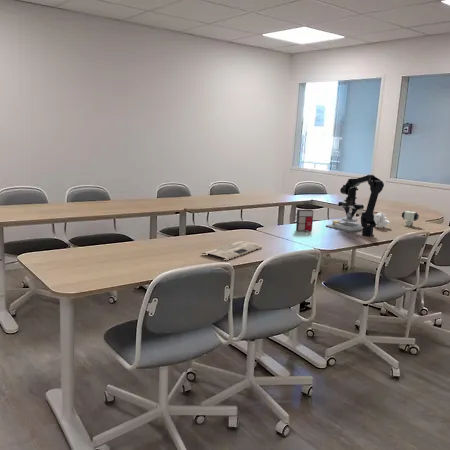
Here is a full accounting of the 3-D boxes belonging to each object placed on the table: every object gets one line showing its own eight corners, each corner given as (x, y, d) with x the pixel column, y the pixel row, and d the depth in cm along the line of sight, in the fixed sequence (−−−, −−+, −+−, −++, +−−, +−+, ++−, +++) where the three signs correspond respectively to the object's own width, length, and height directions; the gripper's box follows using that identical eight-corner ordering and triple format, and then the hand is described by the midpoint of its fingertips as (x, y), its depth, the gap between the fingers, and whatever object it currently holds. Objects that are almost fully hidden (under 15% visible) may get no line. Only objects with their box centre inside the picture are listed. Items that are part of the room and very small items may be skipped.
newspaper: (226, 262, 250) (226, 257, 249) (198, 255, 261) (198, 250, 260) (262, 249, 279) (262, 245, 278) (235, 243, 290) (235, 239, 289)
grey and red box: (297, 231, 329) (299, 210, 326) (295, 230, 334) (297, 209, 330) (312, 231, 332) (313, 210, 329) (310, 229, 336) (311, 209, 333)
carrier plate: (363, 229, 344) (364, 224, 343) (350, 232, 333) (350, 226, 332) (339, 224, 360) (339, 219, 359) (325, 226, 349) (326, 221, 348)
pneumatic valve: (415, 227, 360) (417, 212, 357) (400, 224, 367) (402, 209, 365) (418, 226, 364) (419, 211, 361) (403, 223, 371) (404, 209, 369)
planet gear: (359, 221, 342) (360, 212, 341) (351, 222, 335) (352, 213, 334) (347, 218, 350) (348, 210, 349) (338, 220, 343) (339, 211, 342)
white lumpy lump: (389, 229, 347) (391, 214, 345) (373, 228, 349) (374, 213, 347) (387, 226, 358) (389, 211, 355) (371, 225, 360) (373, 210, 358)
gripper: (334, 194, 340) (332, 215, 344) (356, 198, 327) (354, 220, 330) (343, 193, 348) (341, 214, 351) (365, 197, 334) (363, 218, 337)
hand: (349, 216), depth 342 cm, fingers closed on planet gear, 4 cm apart
